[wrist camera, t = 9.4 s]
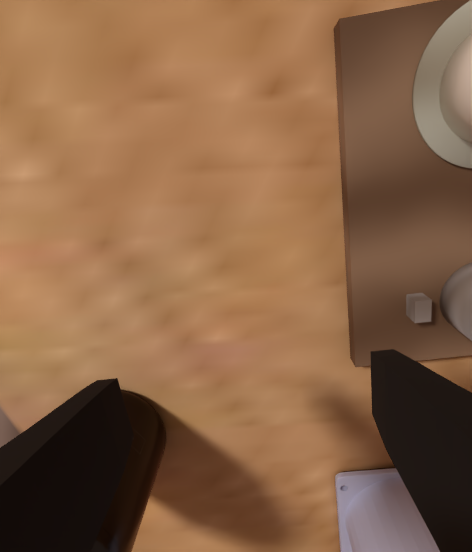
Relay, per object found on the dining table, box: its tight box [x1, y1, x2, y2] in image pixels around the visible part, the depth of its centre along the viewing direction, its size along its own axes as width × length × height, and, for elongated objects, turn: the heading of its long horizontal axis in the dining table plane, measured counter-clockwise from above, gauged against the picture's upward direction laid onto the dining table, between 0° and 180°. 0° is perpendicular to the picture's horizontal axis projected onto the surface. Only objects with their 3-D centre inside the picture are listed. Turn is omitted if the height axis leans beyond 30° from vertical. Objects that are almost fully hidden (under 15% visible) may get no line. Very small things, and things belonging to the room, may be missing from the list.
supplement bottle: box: [91, 390, 166, 552], centre depth 17 cm, size 7×7×12 cm
